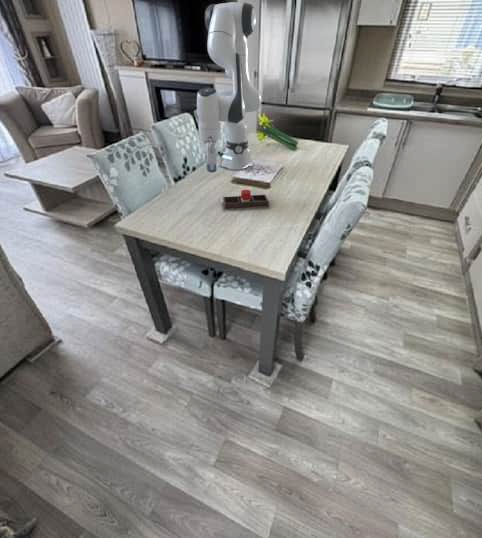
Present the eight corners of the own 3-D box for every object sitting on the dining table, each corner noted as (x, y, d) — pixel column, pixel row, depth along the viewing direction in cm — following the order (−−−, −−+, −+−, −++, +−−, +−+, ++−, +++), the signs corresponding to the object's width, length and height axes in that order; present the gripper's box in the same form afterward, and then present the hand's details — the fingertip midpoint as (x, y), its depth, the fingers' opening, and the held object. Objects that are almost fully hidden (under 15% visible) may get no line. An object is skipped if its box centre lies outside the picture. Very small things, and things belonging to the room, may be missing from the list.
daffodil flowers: (288, 154, 193) (244, 131, 200) (292, 160, 207) (250, 138, 214) (302, 129, 189) (256, 107, 196) (305, 137, 203) (262, 115, 210)
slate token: (206, 168, 135) (206, 162, 133) (216, 168, 136) (215, 161, 134) (207, 172, 132) (206, 165, 130) (216, 172, 133) (216, 165, 131)
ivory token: (240, 202, 136) (240, 196, 135) (249, 201, 137) (249, 195, 135) (241, 206, 133) (241, 200, 131) (250, 205, 134) (251, 199, 132)
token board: (223, 203, 137) (223, 196, 135) (265, 200, 140) (265, 194, 138) (224, 210, 132) (224, 203, 130) (268, 207, 134) (268, 201, 132)
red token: (240, 196, 134) (240, 189, 133) (249, 195, 135) (249, 189, 133) (242, 200, 131) (242, 193, 129) (251, 199, 132) (251, 193, 130)
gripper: (219, 141, 117) (220, 175, 126) (215, 127, 132) (217, 158, 141) (203, 142, 116) (205, 176, 125) (201, 127, 131) (203, 159, 140)
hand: (211, 166), depth 133 cm, fingers closed on slate token, 4 cm apart
